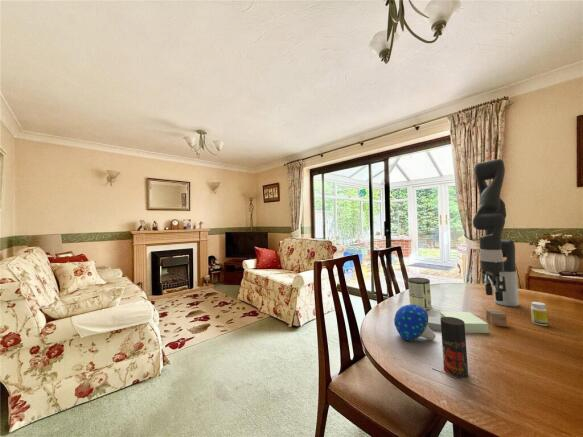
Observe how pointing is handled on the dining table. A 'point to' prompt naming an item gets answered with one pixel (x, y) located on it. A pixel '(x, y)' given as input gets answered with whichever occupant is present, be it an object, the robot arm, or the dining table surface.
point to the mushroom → (413, 323)
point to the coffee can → (420, 292)
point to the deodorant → (454, 347)
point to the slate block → (434, 323)
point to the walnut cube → (496, 317)
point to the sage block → (468, 321)
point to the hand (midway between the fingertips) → (494, 297)
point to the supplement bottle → (539, 314)
